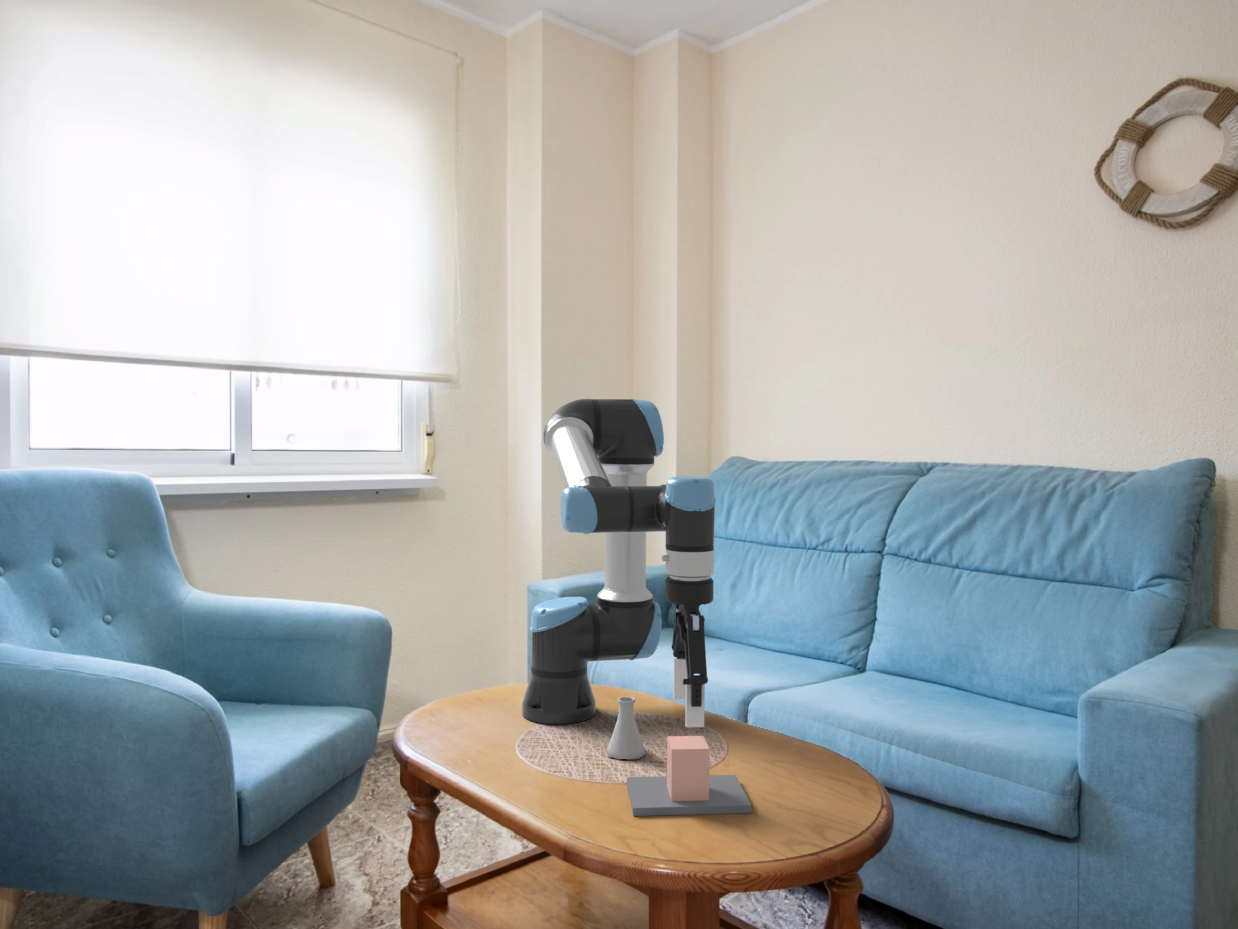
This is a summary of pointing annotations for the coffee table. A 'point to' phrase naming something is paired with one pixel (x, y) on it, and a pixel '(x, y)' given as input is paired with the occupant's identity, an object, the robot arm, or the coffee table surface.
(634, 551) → the robot arm
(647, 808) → the post board
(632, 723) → the flask
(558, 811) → the coffee table surface
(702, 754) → the pink upright block
